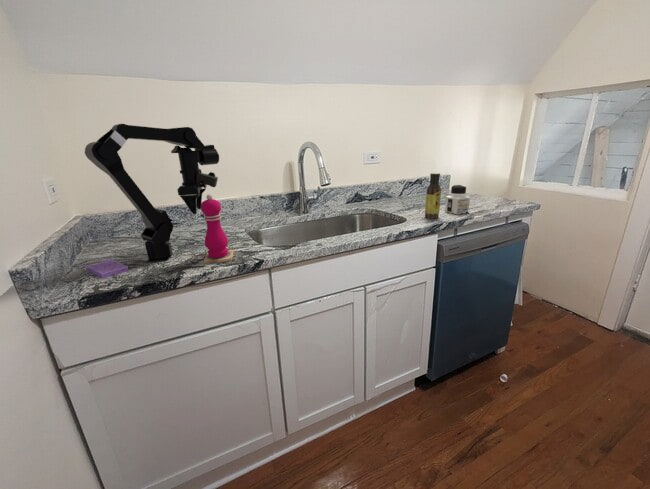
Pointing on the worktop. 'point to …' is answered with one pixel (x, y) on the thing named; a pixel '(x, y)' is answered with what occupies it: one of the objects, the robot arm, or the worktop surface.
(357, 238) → the worktop surface
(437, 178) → the sauce bottle
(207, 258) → the dock
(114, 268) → the sponges
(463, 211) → the container
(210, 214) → the pepper mill
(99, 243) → the worktop surface
